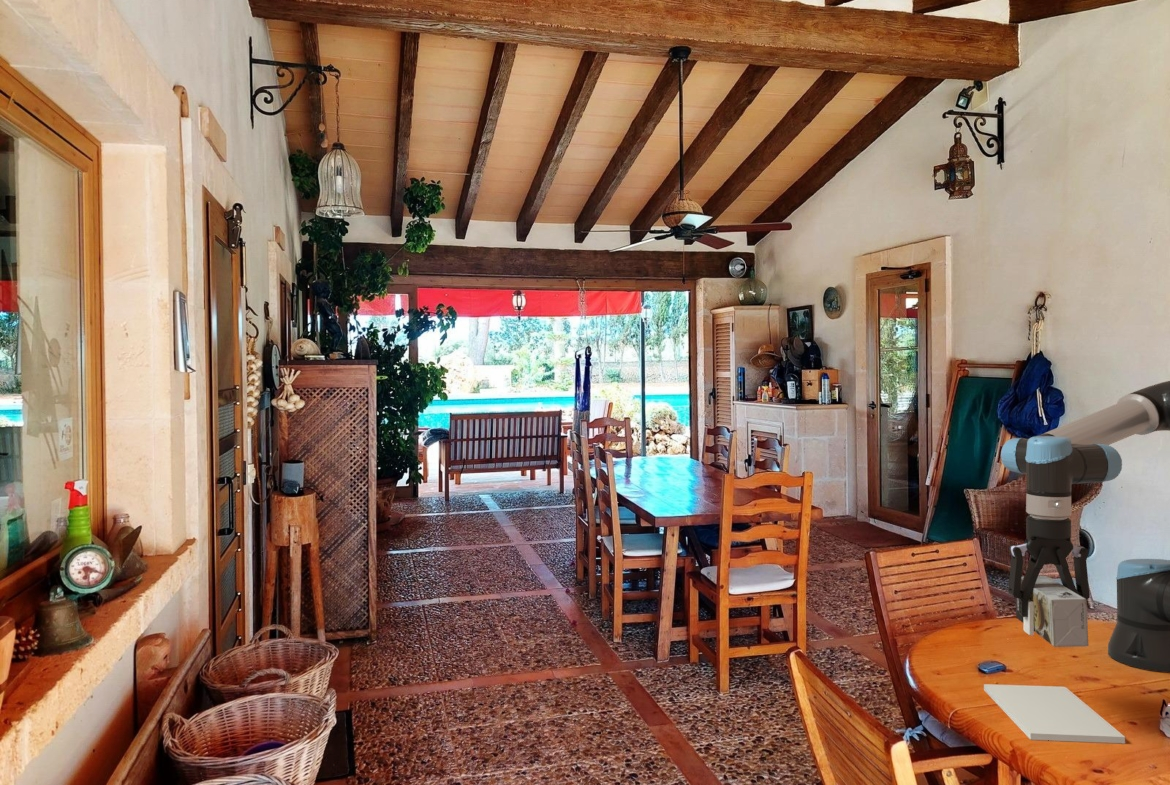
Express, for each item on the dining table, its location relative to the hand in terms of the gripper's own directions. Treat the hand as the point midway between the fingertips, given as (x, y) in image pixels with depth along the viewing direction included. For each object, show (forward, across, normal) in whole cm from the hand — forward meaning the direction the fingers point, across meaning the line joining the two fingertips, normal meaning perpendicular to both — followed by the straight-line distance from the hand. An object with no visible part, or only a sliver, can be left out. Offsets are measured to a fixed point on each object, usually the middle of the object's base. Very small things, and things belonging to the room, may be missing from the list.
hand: (1048, 633), depth 150 cm
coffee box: (-5, 0, -9) cm, 10 cm away
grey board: (+16, 0, 0) cm, 16 cm away
